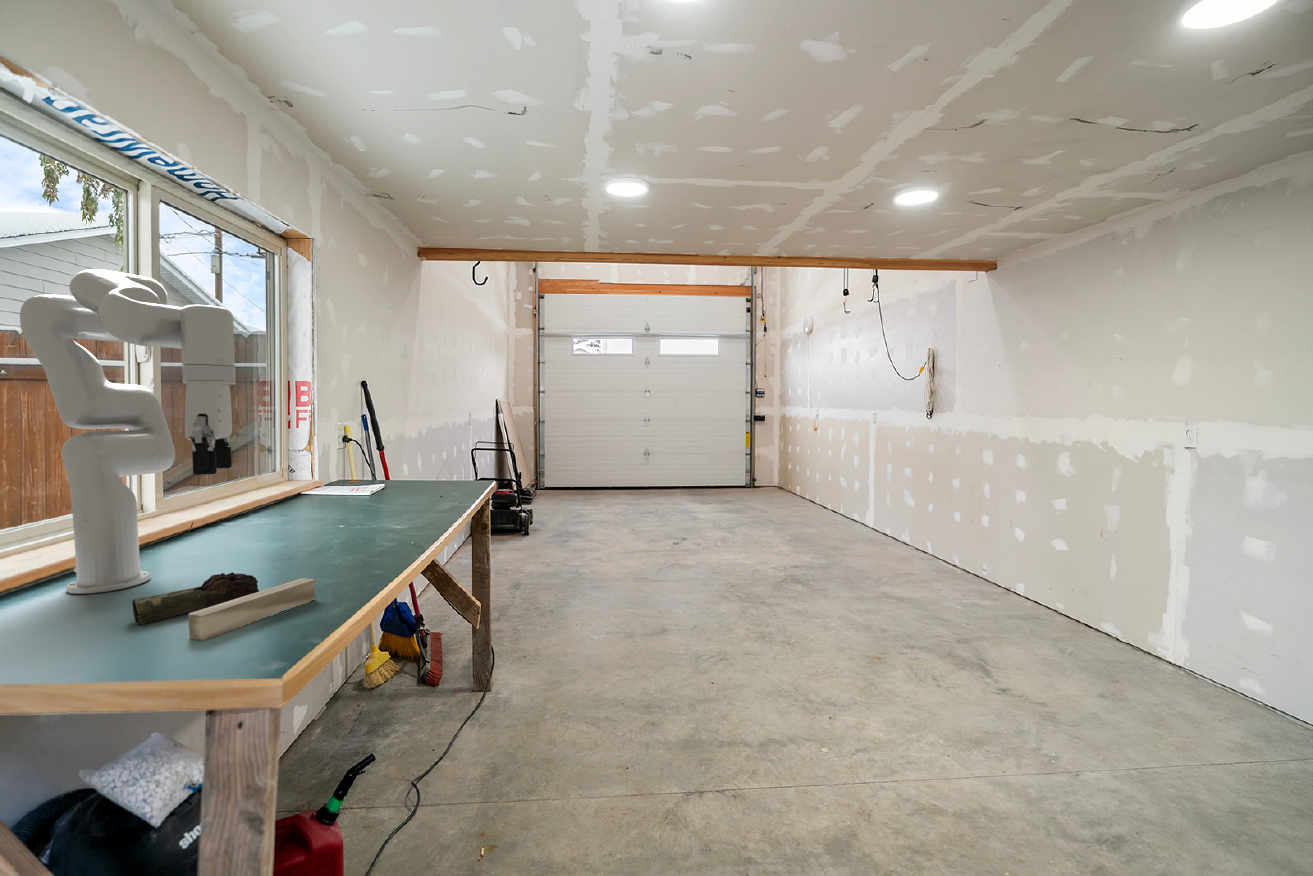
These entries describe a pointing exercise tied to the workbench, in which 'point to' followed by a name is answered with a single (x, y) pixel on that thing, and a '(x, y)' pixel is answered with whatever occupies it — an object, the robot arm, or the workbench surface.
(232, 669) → the workbench surface
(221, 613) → the bar
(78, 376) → the robot arm
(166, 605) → the brown long lumpy piece
